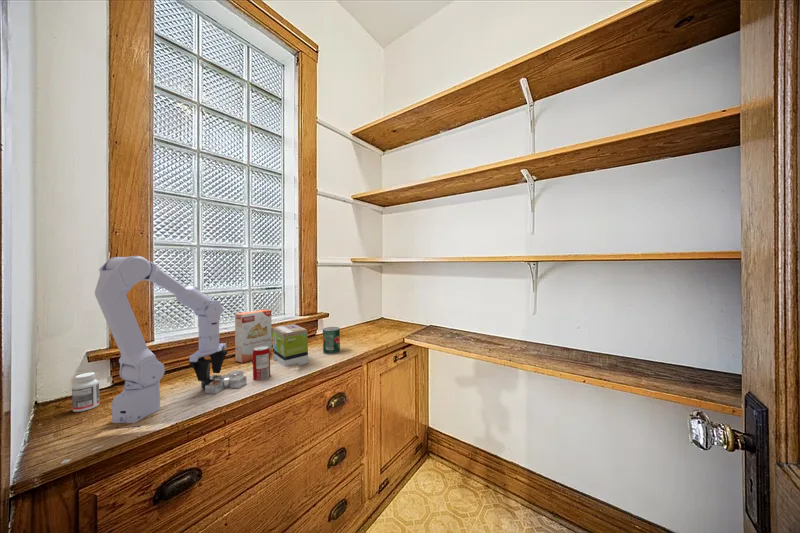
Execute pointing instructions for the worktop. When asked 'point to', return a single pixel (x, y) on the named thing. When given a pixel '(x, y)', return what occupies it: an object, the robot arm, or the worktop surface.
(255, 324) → the cracker box
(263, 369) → the soda can
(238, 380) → the tabbed chrome dome
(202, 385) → the black pin
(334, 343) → the canned tomato
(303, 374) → the worktop surface
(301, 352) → the tea box
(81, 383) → the pill bottle
